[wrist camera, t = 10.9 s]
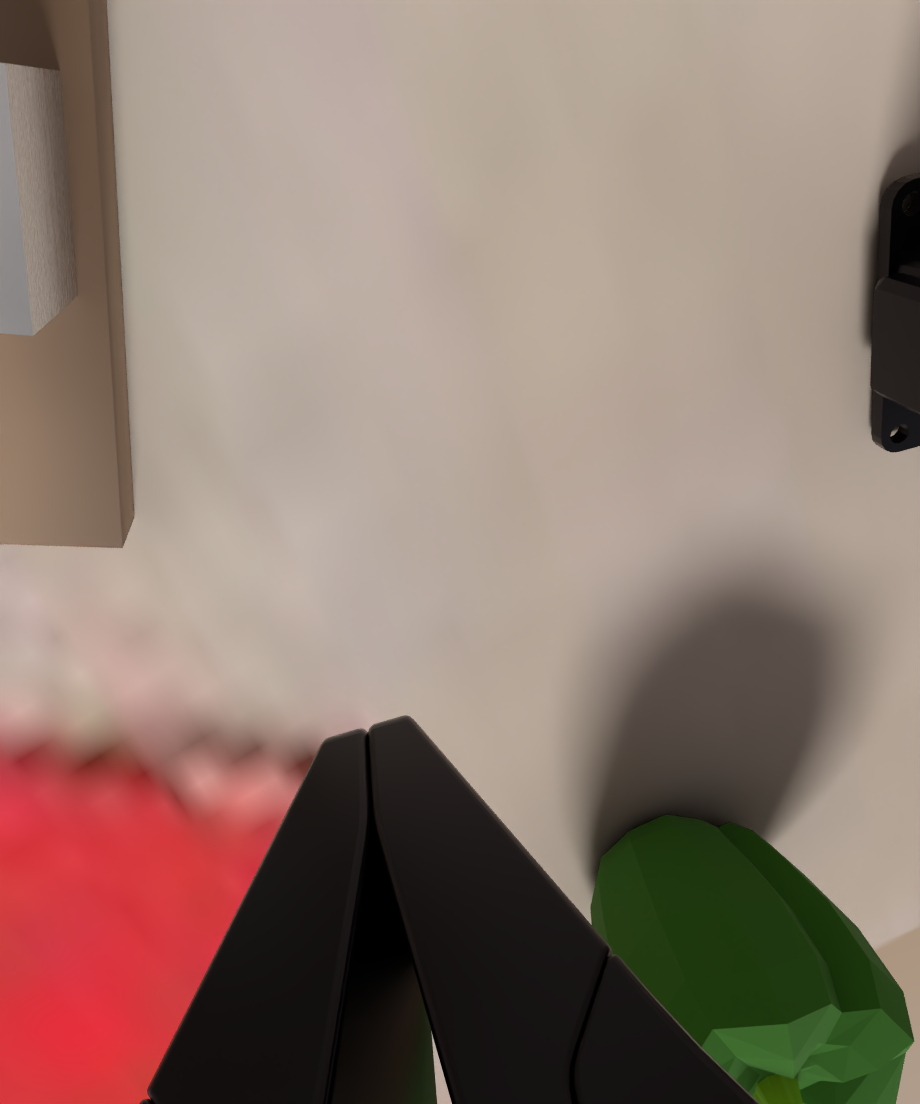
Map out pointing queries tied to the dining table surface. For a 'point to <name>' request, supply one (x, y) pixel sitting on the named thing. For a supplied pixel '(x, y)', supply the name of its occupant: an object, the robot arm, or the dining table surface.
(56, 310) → the rod with end blocks
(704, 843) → the bell pepper
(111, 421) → the cord board
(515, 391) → the dining table surface
